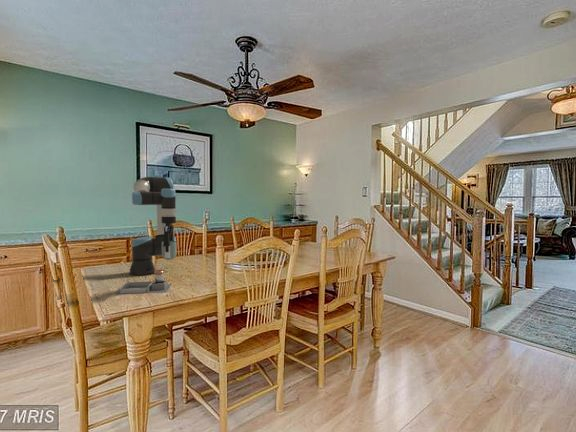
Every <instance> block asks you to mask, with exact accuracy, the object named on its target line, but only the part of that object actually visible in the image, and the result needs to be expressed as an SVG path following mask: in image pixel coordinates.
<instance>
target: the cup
mask: <svg viewBox="0 0 576 432" xmlns="http://www.w3.org/2000/svg"><path fill="white" fill-rule="evenodd" d="M163 245H164V241H163V242H162V243H161V248H162V255H161V257H162V258H163V259H164V260H166V261H170V260H171V261H172V260H174V259H175V258H176V256H177V251H178V250H177V248H178V247H177V246H178V245H177V240H176V241H170V258H165V246H163Z"/></svg>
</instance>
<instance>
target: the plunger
mask: <svg viewBox="0 0 576 432" xmlns="http://www.w3.org/2000/svg"><path fill="white" fill-rule="evenodd" d="M164 273H165V270H163V269H158V270H157V269H155V271H154V273H153V274H154V281H155V283H163V281H164Z"/></svg>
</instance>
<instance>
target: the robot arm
mask: <svg viewBox="0 0 576 432" xmlns="http://www.w3.org/2000/svg"><path fill="white" fill-rule="evenodd" d="M172 179H173V178H171V177H166V176H164V177H162V176H160V177H159V176H158V177H157V176H145V177H141V178H139V179H137V180H136V181H135V182H134V184H133V189H134V191H132V193H131V196H132V197H131V200H132V201H131V202H132V205H134V206H153V205H154V206H156V230H157V231H156V232H157V233H156V234H155V236H154V238H152V237H153V236H151V235H147V236H141V237H140V236H139V237H136V238H133V240H132V242H131V252H132V253H131V260H132V261H131V264H130V268H129V275H132V276H145V275H151V274H154V271H156V267H155V264H154V262H153V257H157V256H158V257H159V256H162V248H161V243H162V242H163V241H164V245H163V246H165V258H170V241H176V242H177V237H175V236H174V225H173V224H176V223H177V217H176V214H177V212H178V211H177V209H176V208H177V207H176V201H177V199H176V197H177V194H176V189H175V186H174V182H173V180H172Z"/></svg>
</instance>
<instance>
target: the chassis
mask: <svg viewBox="0 0 576 432" xmlns="http://www.w3.org/2000/svg"><path fill="white" fill-rule="evenodd" d="M172 285H173V283H168V280H163V283H155V280H154V281H128V282H126V283H124V284H123V285H122V286H121V287H119V288H118V289H117V295H130V294H131V295H134V294H135V295H136V294H137V295H138V294H162V293H163V294H164V293H167V292H168V291H169V289H170V288H171V287H172Z"/></svg>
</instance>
